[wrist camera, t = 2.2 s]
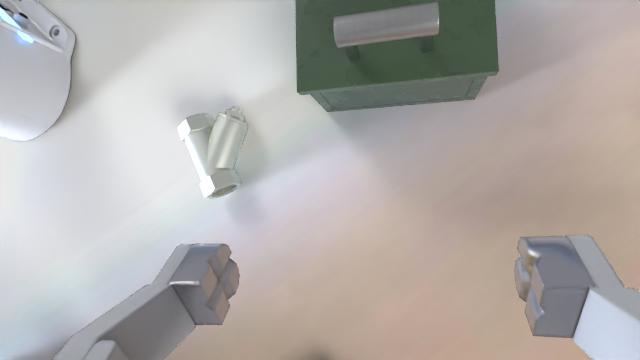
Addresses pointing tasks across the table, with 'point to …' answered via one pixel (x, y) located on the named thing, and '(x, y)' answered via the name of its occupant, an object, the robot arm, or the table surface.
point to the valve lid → (392, 42)
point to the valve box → (401, 94)
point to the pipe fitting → (215, 149)
